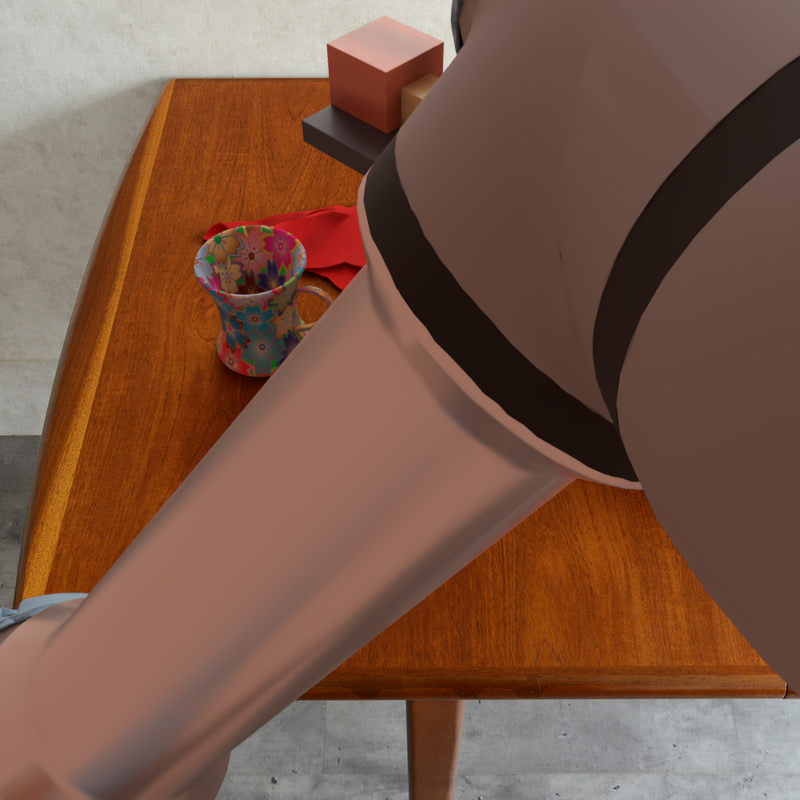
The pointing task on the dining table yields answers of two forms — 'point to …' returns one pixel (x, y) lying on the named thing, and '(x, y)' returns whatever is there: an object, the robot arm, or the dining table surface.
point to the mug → (256, 295)
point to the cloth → (319, 239)
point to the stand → (345, 138)
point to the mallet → (383, 71)
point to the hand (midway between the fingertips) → (598, 188)
